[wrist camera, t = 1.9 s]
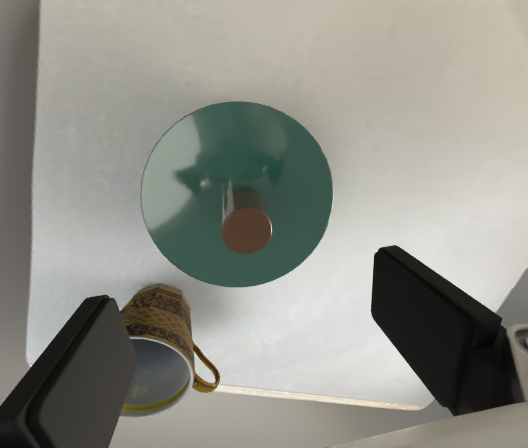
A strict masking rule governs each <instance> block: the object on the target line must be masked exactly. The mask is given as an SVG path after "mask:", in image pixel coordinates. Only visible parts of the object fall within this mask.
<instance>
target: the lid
mask: <svg viewBox="0 0 528 448" xmlns="http://www.w3.org/2000/svg"><path fill="white" fill-rule="evenodd" d="M333 194H334V193H333V181H332V176H331V171H330V168H329V165H328V162H327V159H326V157H325V155H324V153H323V151H322V149H321V147H320V146H319V144H318V143H317V142H316V140H315V139H314V137H313V136H312V135H311V134H310V133H309V132H308V131H307V130H306V129H305V128H304V127H303V126H302V125H301V124H299V123H298V122H297V121H296V120H295V119H293V118H291V117H290V116H288V115H286V114H285V113H283V112H281V111H279V110H276V109H274V108H271V107H269V106H265V105H261V104H257V103H250V102H224V103H219V104H213V105H210V106H207V107H204V108H201V109H198V110H196V111H194V112H192V113H190V114H188V115H186V116H185V117H184V118H182V119H181V120H179V121H178V122H176V123H175V124H174V125H173V126H172V127H171V128H170V129H169V130H168V131H167V132H166V133H164V135H163V136H162V137H161V139H160V140H159V141H158V142H157V144H156V145H155V147H154V149H153V150H152V152H151V154H150V156H149V158H148V161H147V163H146V166H145V169H144V173H143V177H142V182H141V195H140V196H141V208H142V213H143V217H144V221H145V224H146V227H147V229H148V232H149V234H150V236H151V238H152V239H153V241H154V243H155V244H156V246H157V247H158V249H159V250H160V251H161V253H162V254H163V255H164V256H165V257H166V258H167V259H168V260H169V261H170V262H171V263H172V264H173V265H175V266H176V267H177V268H178V269H180V270H181V271H183V272H184V273H186V274H188V275H189V276H191V277H194V278H196V279H198V280H200V281H203V282H206V283H209V284H213V285H218V286H224V287H249V286H256V285H260V284H264V283H267V282H270V281H273V280H275V279H277V278H280V277H282V276H284V275H286V274H287V273H289V272H290V271H292V270H294V269H295V268H296V267H297V266H299V265H300V264H301V263H302V262H303V261H304V260H305V259H306V258H307V257H308V256H309V255H310V254H311V253H312V252H313V251H314V249H315V248H316V247H317V245H318V244H319V242H320V240H321V239H322V237H323V235H324V233H325V231H326V229H327V226H328V223H329V220H330V217H331V212H332V207H333Z"/></svg>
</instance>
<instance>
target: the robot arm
mask: <svg viewBox="0 0 528 448" xmlns="http://www.w3.org/2000/svg"><path fill="white" fill-rule="evenodd" d="M371 313H372V317H373V319H374V320H375V322H376V323H377V324H378V326H379V327H380V328H381V329H382V331H383V332H384V333H385V335H386V336H387V337H388V338H389V340H390V341H391V342H392V344H393V345H394V346H395V347H396V349H397V350H398V351H399V353H400V354H401V355H402V356H403V358H404V359H405V360H406V362H407V363H408V364H409V365H410V367H411V368H412V369H413V371H414V372H415V373H416V374H417V376H418V377H419V378H420V380H421V381H422V382H423V383H424V385H425V386H426V387H427V389H428V390H429V391H430V392H431V394H432V395H433V396H434V398H435V399H436V400H437V401H438V402H439V403H440V404H441V405H442V406H443V407H447V408H448V409H449V410H450V412H451V413H452V414H453V415H454V417H451V418H447V419H443V420H439V421H435V422H431V423H426V424H422V425H418V426H414V427H410V428H406V429H401V430H397V431H393V432H389V433H384V434H380V435H377V436H372V437H368V438H364V439H359V440H356V441H351V442H347V443H343V444H339V445H335V446H331V447H327V448H528V323H519V324H518V323H517V324H514V325H511V326H510V327H509V328H508V329H505V328H504V327H503V326H501V325H500V324H501V321H502V318H501V317H500V316H498V315H497V314H496V313H494V312H493V311H491V310H490V309H488V308H487V307H485V306H484V305H482V304H481V303H480V302H478V301H477V300H475V299H474V298H472V297H471V296H469V295H468V294H467V293H465V292H464V291H462V290H461V289H459V288H458V287H456V286H455V285H453V284H452V283H451V282H449V281H448V280H446V279H445V278H443V277H442V276H440V275H439V274H438V273H436V272H435V271H433V270H432V269H430V268H429V267H427V266H426V265H424V264H423V263H422V262H420V261H419V260H417V259H416V258H414V257H413V256H411V255H410V254H409V253H407V252H406V251H404V250H403V249H401V248H400V247H398V246H396V245H393V246H388V247H382V248H380V249H379V250H378V252H376V253H375V255H374V268H373V285H372V302H371ZM137 363H138V359H137V355H136V352H135V350H134V347H133V344H132V342H131V339H130V337H129V334H128V332H127V329H126V326H125V324H124V321H123V319H122V316H121V314H120V311H119V308H118V306H117V303H116V301H115V299H114V298H110V297H109V296H108V295H101V296H95V297H89V298H86V299H85V300H84V301H83V302H82V304H81V305H80V306H79V307H78V309H77V310H76V311H75V313H74V314H73V315H72V316H71V318H70V319H69V320H68V321H67V323H66V324H65V325H64V326H63V328H62V329H61V330H60V331H59V333H58V334H57V335H56V336H55V338H54V339H53V340H52V342H51V343H50V344H49V345H48V347H47V348H46V349H45V350H44V352H43V353H42V354H41V355H40V357H39V358H38V359H37V360H36V362H35V363H34V364H33V365H32V367H31V368H30V369H29V371H28V372H27V373H26V374H25V376H24V377H23V378H22V379H21V381H20V382H19V383H18V384H17V386H16V387H15V389H14V390H13V391H12V392H11V393H10V395H9V396H8V397H7V398H6V400H5V401H4V402H3V403H2V405H1V406H0V448H108V447H109V444H110V441H111V439H112V436H113V433H114V430H115V427H116V425H117V422H118V419H119V416H120V413H121V411H122V408H123V405H124V402H125V399H126V397H127V394H128V391H129V388H130V385H131V382H132V380H133V377H134V374H135V371H136V368H137Z"/></svg>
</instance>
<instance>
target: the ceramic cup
mask: <svg viewBox="0 0 528 448" xmlns="http://www.w3.org/2000/svg"><path fill="white" fill-rule="evenodd" d="M120 314H121V316H122V319H123V321H124V324H125V326H126V329H127V332H128V334H129V337H130V339H131V342H132V344H133V347H134V350H135V352H136V355H137V359H138V363H137V368H136V371H135V374H134V377H133V380H132V382H131V385H130V388H129V391H128V394H127V397H126V399H125V402H124V405H123V408H122V411H121V413H120V416H119V417H125V418H141V417H148V416H153V415H157V414H160V413H163V412H166V411H167V410H170V409H172V408H173V407H175V406H177V405H178V404H179V403H181V402H182V401H183V400H184V399H185V398H186V396H187V395H188V394H189V392H190V391H191V389H192V387H193V388H194V389H195V390H197V391H199V392H203V393H208V392H212V391H213V390H215V389H216V388H217V386H218V384H219V381H220V375H219V372H218V370H217V369H216V367H215V366H214V365H213V364H212V363H211V362H210V361H209V360H208V359H207V358H206V357H205V356H204V355H203V353H202V352H201V350H200V349H199V348H198V347H197V346H196V345H195V344H194V342H193V340H192V332H191V320H190V307H189V304H188V302H187V300H186V298H185V296H184V294H183V293H182V291H180V290H177V289H175V288H172V287H169V286H166V285H163V284H158V285H155V286H151V287H148V288H145V289H142V290H140V291H138V292H137V293H136V295H134V297H133V298H132V299H131V300H130V301H129V303H128V304H127V305H126V306H125V307H124V308H123V309H122V310H121V311H120ZM193 351H194V352H195V353H196V354H197V356H198V357H199V359H200V360H201V361H202V362H203V363H204V364H205V365H206V366H207V367H208V368H209V369H210V370H211V371H212V372H213V374H214V376H215V379H216V381H215V383H214V384H211V383H208V382H206V381H204V380H203V379H201V378H200V377H199V376H198V375H197V374H196V373H195V366H194V352H193Z"/></svg>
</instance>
